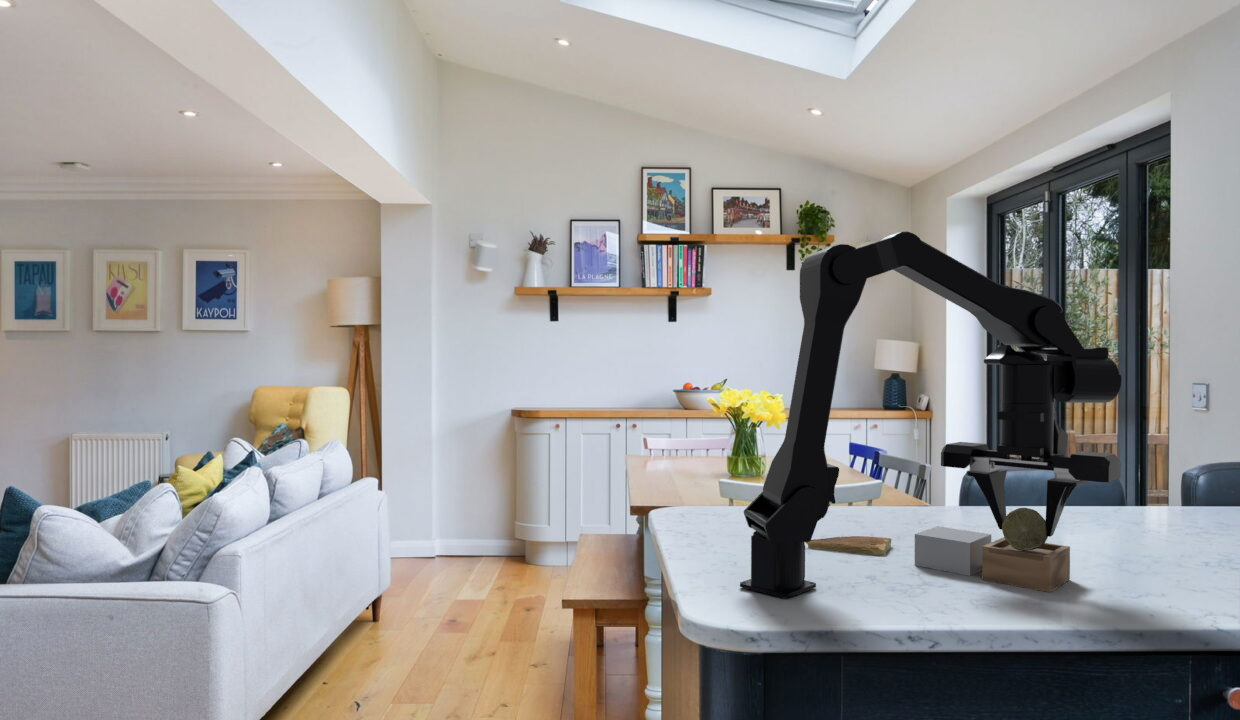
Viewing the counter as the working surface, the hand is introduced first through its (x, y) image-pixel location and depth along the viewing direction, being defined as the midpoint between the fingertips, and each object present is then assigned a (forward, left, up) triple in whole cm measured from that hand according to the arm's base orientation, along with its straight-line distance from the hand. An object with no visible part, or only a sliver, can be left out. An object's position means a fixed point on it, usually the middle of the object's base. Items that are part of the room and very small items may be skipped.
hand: (1025, 532), depth 98 cm
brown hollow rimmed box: (0, 0, -6) cm, 6 cm away
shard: (0, +22, -6) cm, 23 cm away
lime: (0, 0, -2) cm, 2 cm away
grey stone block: (+1, +9, -6) cm, 11 cm away
